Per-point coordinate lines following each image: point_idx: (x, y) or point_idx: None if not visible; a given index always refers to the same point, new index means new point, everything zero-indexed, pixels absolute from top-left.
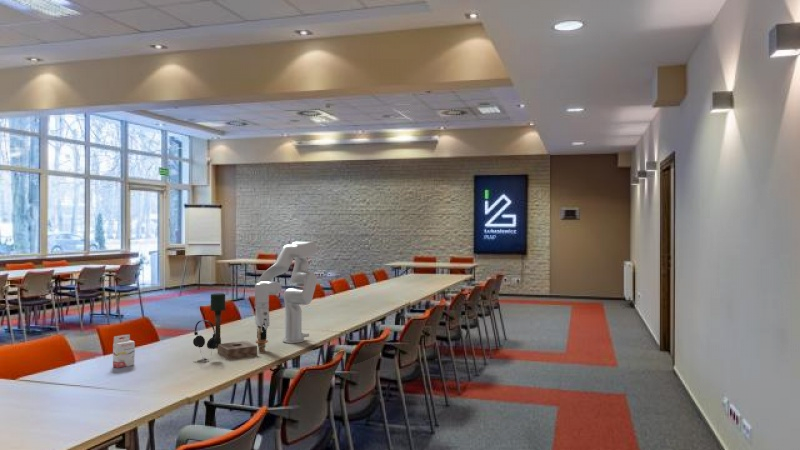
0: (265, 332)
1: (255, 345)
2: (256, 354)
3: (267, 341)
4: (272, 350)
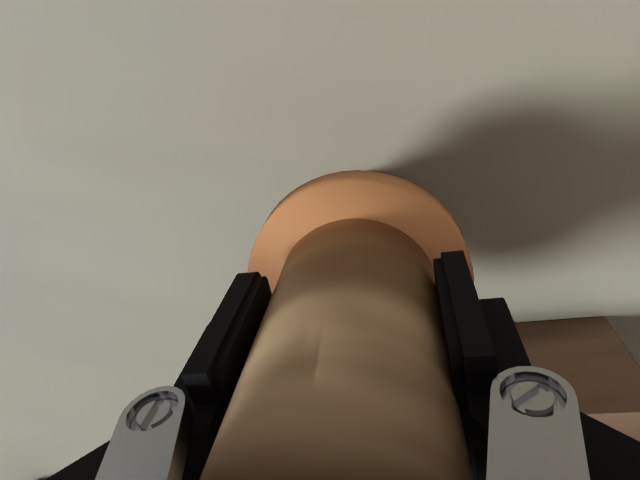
0: (541, 387)
1: (621, 421)
2: (608, 330)
3: (417, 191)
4: (411, 58)
